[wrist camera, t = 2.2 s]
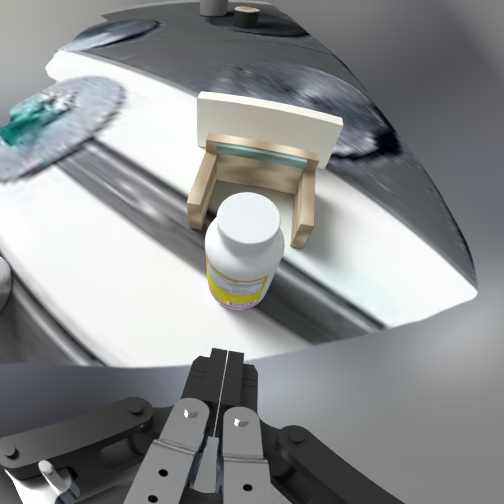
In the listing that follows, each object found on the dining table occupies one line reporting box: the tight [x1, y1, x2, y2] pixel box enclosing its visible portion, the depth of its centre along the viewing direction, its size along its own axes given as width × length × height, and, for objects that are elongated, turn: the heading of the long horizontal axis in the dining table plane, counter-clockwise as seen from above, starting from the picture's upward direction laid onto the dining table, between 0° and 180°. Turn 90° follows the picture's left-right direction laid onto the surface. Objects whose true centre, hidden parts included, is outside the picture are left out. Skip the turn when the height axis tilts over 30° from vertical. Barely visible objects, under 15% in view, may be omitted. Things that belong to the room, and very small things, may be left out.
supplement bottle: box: [205, 192, 284, 310], centre depth 26 cm, size 7×7×13 cm
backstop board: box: [197, 92, 343, 170], centre depth 39 cm, size 20×2×9 cm, turn 82°
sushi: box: [233, 6, 259, 28], centre depth 75 cm, size 8×8×8 cm
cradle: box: [187, 133, 319, 249], centre depth 34 cm, size 14×10×7 cm
